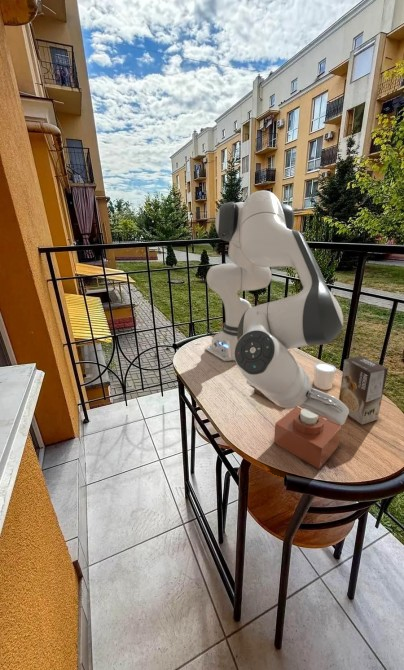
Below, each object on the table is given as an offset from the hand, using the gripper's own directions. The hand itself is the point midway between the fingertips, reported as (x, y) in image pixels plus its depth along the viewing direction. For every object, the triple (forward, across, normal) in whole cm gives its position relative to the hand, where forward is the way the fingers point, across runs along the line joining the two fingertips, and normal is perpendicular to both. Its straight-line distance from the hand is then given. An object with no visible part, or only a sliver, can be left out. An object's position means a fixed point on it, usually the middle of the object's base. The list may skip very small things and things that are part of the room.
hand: (306, 405), depth 65 cm
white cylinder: (+31, +10, -13) cm, 36 cm away
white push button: (+5, 0, +2) cm, 5 cm away
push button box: (+10, 0, +8) cm, 13 cm away
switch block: (+21, +18, -3) cm, 27 cm away
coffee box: (+26, -4, -8) cm, 27 cm away
